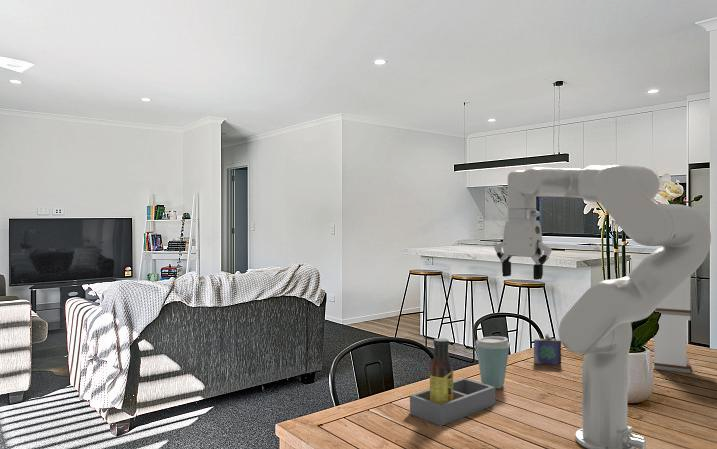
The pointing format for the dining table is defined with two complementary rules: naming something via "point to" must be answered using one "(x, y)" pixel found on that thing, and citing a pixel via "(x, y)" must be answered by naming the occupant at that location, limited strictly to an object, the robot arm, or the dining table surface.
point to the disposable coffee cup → (493, 359)
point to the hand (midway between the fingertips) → (521, 277)
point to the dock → (453, 402)
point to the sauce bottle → (441, 373)
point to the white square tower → (673, 330)
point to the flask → (547, 351)
